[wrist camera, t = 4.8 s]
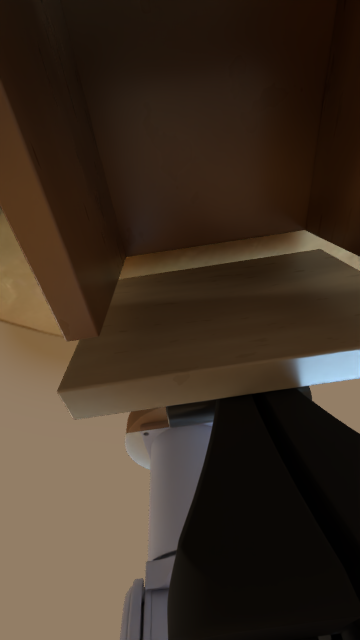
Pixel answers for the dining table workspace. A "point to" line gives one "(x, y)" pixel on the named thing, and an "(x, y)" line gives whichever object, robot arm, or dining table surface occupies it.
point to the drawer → (185, 191)
